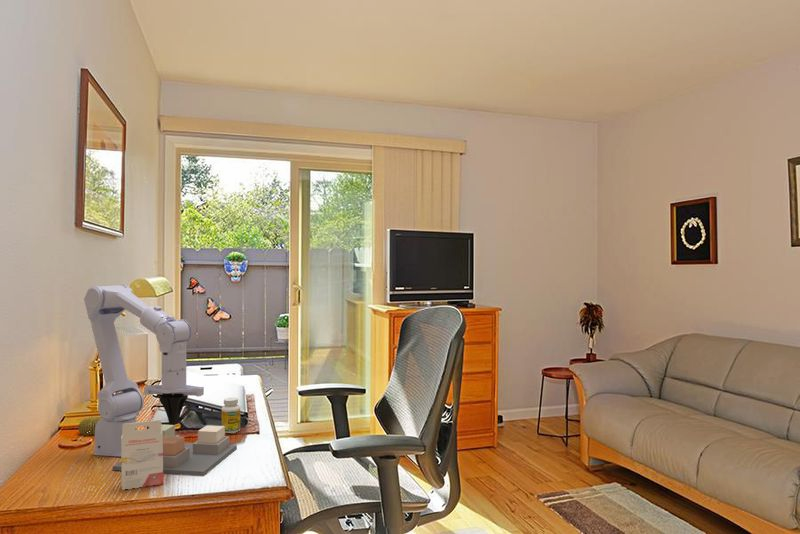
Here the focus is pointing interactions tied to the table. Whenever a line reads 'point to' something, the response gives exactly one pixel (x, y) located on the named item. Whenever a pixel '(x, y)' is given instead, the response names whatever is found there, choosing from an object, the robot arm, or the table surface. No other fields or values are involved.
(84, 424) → the sculpture
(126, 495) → the table surface
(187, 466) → the board
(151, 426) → the ink cartridge box
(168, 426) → the sage button
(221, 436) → the cream button
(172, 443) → the terracotta button
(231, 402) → the supplement bottle
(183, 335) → the robot arm
